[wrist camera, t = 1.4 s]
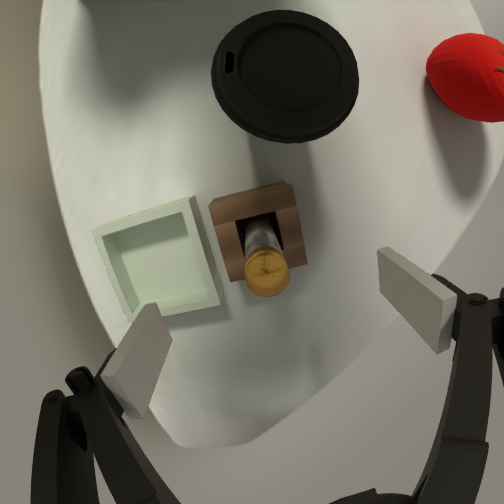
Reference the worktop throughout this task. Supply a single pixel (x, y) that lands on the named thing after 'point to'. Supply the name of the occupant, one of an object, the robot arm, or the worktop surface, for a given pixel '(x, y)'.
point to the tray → (160, 259)
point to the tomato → (469, 76)
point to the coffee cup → (285, 76)
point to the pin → (264, 258)
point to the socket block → (253, 204)
